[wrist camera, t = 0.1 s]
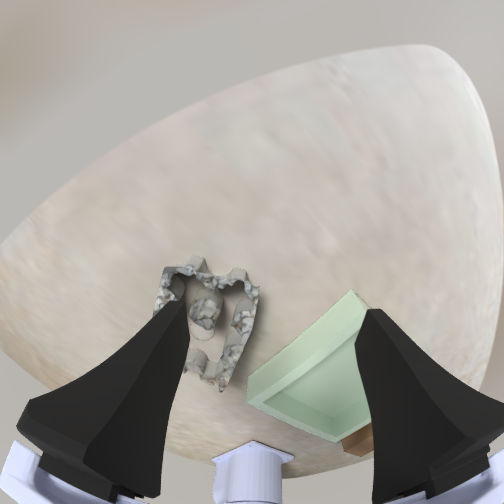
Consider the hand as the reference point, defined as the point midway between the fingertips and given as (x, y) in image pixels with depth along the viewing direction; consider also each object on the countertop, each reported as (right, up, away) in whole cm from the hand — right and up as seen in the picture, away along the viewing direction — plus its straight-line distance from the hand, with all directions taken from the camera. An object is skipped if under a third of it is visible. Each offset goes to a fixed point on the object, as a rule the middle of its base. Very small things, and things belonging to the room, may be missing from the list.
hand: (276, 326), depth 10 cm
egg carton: (-5, -2, +13) cm, 14 cm away
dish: (+8, -9, +14) cm, 18 cm away
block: (+13, -19, +17) cm, 29 cm away
